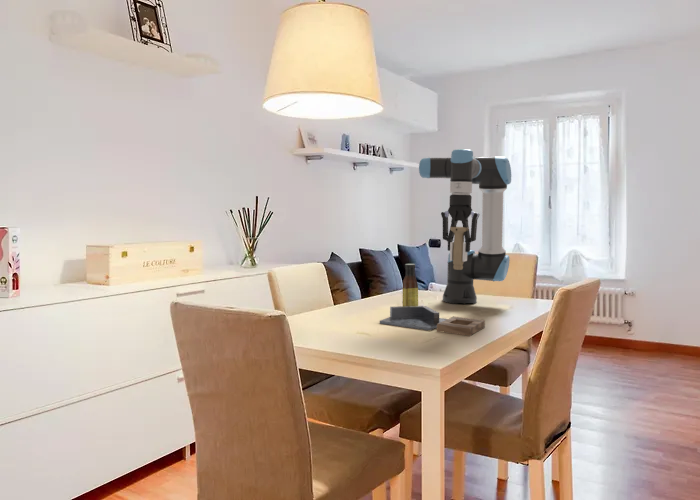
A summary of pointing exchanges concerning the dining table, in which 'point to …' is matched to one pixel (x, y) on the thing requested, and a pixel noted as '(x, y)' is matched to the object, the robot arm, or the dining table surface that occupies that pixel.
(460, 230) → the handle
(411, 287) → the sauce bottle
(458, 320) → the walnut collar
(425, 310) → the v cradle
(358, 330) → the dining table surface
